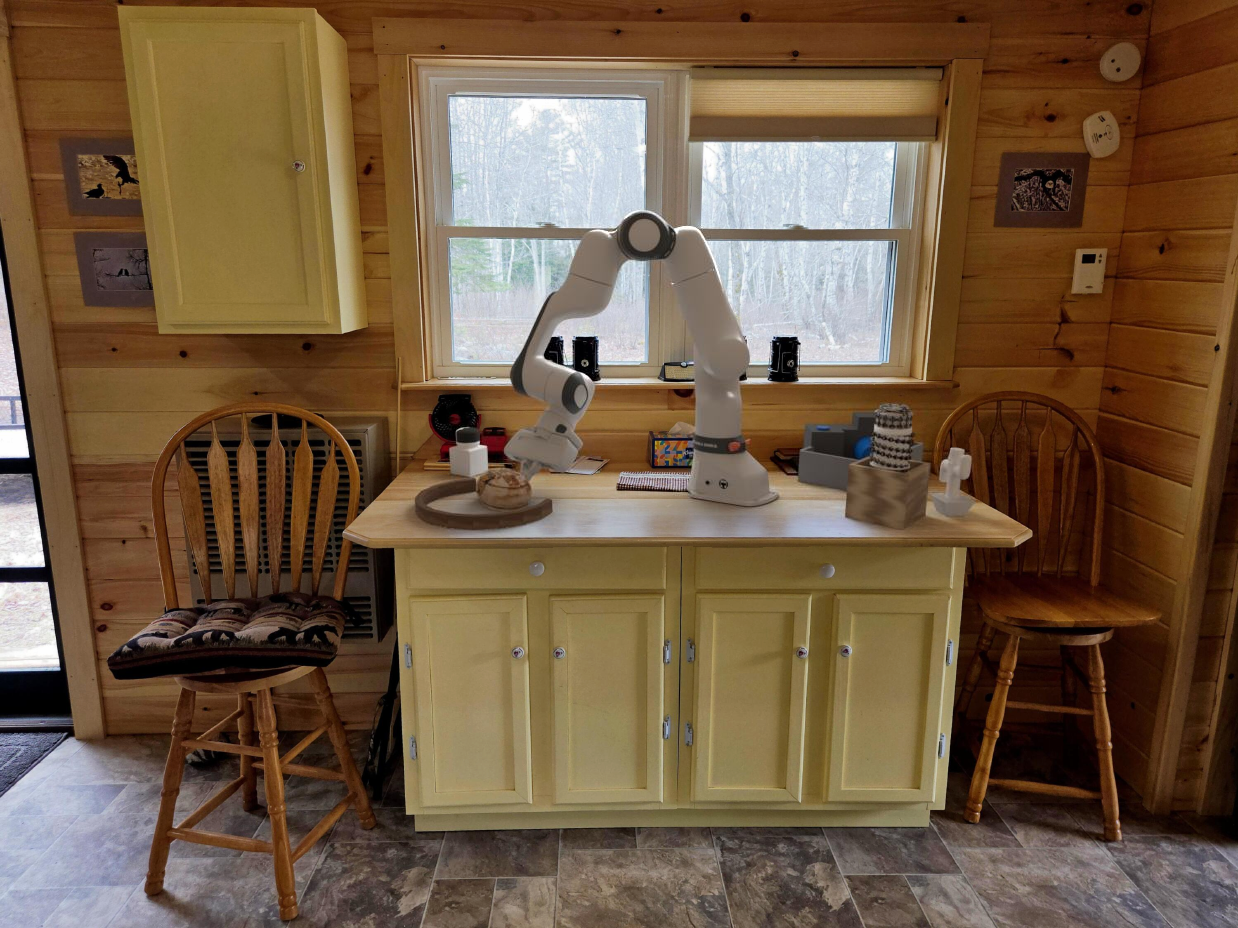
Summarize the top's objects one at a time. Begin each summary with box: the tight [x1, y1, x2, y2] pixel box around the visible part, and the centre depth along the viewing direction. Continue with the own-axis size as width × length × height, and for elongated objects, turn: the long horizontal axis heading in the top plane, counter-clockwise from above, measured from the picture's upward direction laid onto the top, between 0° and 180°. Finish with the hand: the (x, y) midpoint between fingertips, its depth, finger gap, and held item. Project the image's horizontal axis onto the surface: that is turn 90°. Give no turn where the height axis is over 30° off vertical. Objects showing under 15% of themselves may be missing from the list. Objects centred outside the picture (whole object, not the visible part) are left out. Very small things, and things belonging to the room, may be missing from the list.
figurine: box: [928, 447, 976, 517], centre depth 183 cm, size 7×9×15 cm
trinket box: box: [475, 467, 533, 513], centre depth 190 cm, size 13×15×8 cm
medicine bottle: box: [448, 426, 489, 478], centre depth 215 cm, size 7×7×12 cm
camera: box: [803, 411, 876, 460], centre depth 215 cm, size 25×16×16 cm, turn 87°
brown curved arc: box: [414, 477, 553, 531], centre depth 184 cm, size 31×24×3 cm
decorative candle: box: [870, 403, 916, 473], centre depth 179 cm, size 9×9×25 cm
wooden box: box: [844, 456, 932, 530], centre depth 181 cm, size 13×13×12 cm
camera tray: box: [797, 441, 924, 492], centre depth 214 cm, size 21×30×8 cm
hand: (523, 478), depth 195 cm, fingers closed
